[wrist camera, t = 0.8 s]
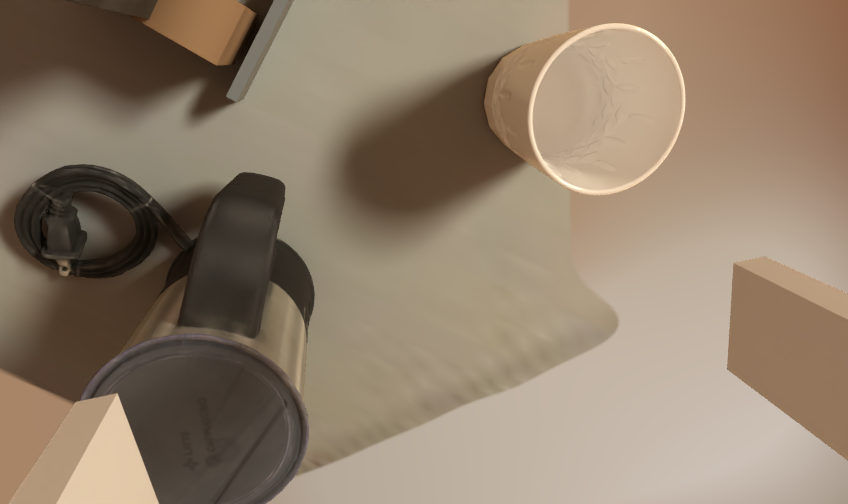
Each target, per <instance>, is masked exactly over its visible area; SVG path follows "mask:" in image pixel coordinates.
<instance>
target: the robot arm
mask: <svg viewBox="0 0 848 504" xmlns="http://www.w3.org/2000/svg"><path fill="white" fill-rule="evenodd" d="M727 369H728V370H729V371H730V372H731V373H733V374H734V375H736V376H737V377H738V378H739V379H741V380H742V381H743V382H745V383H746V384H747V385H749V386H750V387H751V388H753V389H754V390H755V391H757V392H758V393H759V394H761V395H762V396H763V397H765V398H766V399H768V400H769V401H770V402H771V403H773V404H774V405H775V406H777V407H778V408H779V409H781V410H782V411H783V412H784V413H786V414H787V415H789V416H790V417H791V418H792V419H794V420H795V421H796V422H798V423H799V424H801V425H802V426H803V427H805V428H806V429H807V430H808V431H810V432H811V433H812V434H814V435H815V436H816V437H818V438H819V439H820V440H822V441H823V442H824V443H825V444H827V445H828V446H829V447H831V448H832V449H833V450H835V451H836V452H837V453H839V454H840V455H841V456H843V457H844V458H845V459H847V460H848V294H847V293H845V292H843V291H840V290H838V289H836V288H834V287H831V286H829V285H827V284H825V283H822V282H820V281H818V280H816V279H814V278H811V277H809V276H807V275H805V274H802V273H800V272H798V271H796V270H793V269H791V268H789V267H787V266H785V265H782V264H780V263H778V262H776V261H773V260H771V259H769V258H767V257H760V258H755V259H750V260H745V261H741V262H736V263H734V265H733V282H732V300H731V316H730V331H729V348H728V364H727ZM9 504H159V503H158V500H157V497H156V495H155V492H154V489H153V487H152V484H151V481H150V479H149V476H148V473H147V471H146V468H145V465H144V463H143V460H142V457H141V455H140V452H139V450H138V447H137V444H136V442H135V439H134V436H133V434H132V431H131V428H130V426H129V423H128V420H127V418H126V415H125V412H124V410H123V407H122V404H121V402H120V399H119V396H118V394H117V393H116V394H111V395H107V396H102V397H97V398H92V399H88V400H83V401H78V402H75V403H74V405H73V406H72V408H71V409H70V411H69V412H68V414H67V416H66V417H65V419H64V420H63V422H62V423H61V425H60V426H59V428H58V429H57V431H56V432H55V434H54V435H53V437H52V438H51V440H50V442H49V443H48V444H47V446H46V447H45V449H44V451H43V452H42V454H41V455H40V457H39V458H38V460H37V461H36V463H35V464H34V466H33V467H32V469H31V470H30V472H29V473H28V475H27V476H26V478H25V479H24V481H23V482H22V484H21V486H20V487H19V488H18V490H17V492H16V493H15V495H14V496H13V498H12V499H11V501H10V502H9Z"/></svg>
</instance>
